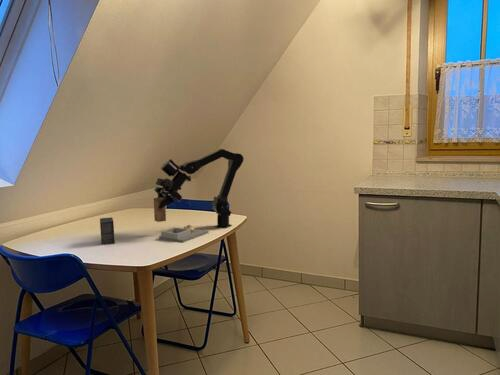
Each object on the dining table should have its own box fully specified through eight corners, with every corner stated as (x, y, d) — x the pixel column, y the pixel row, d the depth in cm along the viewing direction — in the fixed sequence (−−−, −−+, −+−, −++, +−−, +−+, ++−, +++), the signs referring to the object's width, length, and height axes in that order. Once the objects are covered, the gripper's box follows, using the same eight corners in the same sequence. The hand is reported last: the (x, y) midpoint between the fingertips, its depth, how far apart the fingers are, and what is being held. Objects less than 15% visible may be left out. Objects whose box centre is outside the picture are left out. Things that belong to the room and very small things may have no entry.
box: (101, 240, 190) (99, 218, 189) (114, 239, 192) (112, 217, 191) (101, 245, 183) (100, 221, 181) (114, 243, 185) (113, 220, 183)
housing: (185, 229, 210) (185, 222, 209) (208, 232, 203) (208, 224, 202) (159, 238, 192) (158, 230, 192) (182, 242, 185) (182, 233, 185)
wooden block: (162, 219, 203) (161, 197, 201) (166, 220, 199) (165, 198, 198) (154, 220, 200) (153, 198, 199) (158, 222, 197) (157, 199, 196)
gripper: (157, 170, 206) (137, 194, 201) (175, 173, 192) (154, 199, 187) (171, 185, 212) (152, 208, 207) (190, 188, 198) (170, 214, 192)
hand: (157, 207), depth 198 cm, fingers closed on wooden block, 4 cm apart
